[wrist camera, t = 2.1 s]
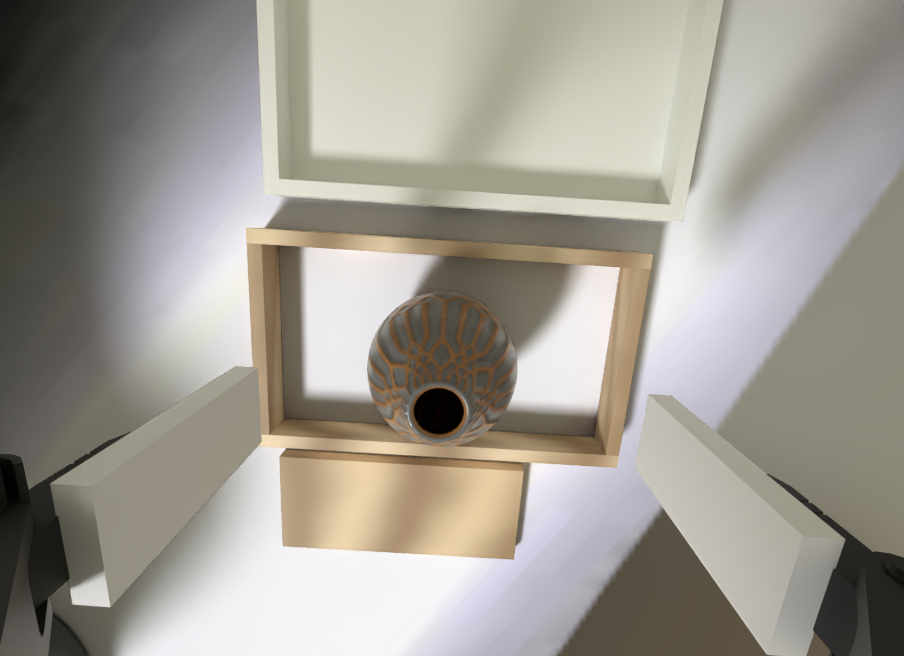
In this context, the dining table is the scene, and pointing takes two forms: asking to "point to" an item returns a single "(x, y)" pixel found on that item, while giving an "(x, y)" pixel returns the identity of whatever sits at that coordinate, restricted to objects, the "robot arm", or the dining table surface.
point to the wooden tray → (491, 443)
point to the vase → (442, 369)
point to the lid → (400, 504)
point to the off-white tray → (486, 102)
